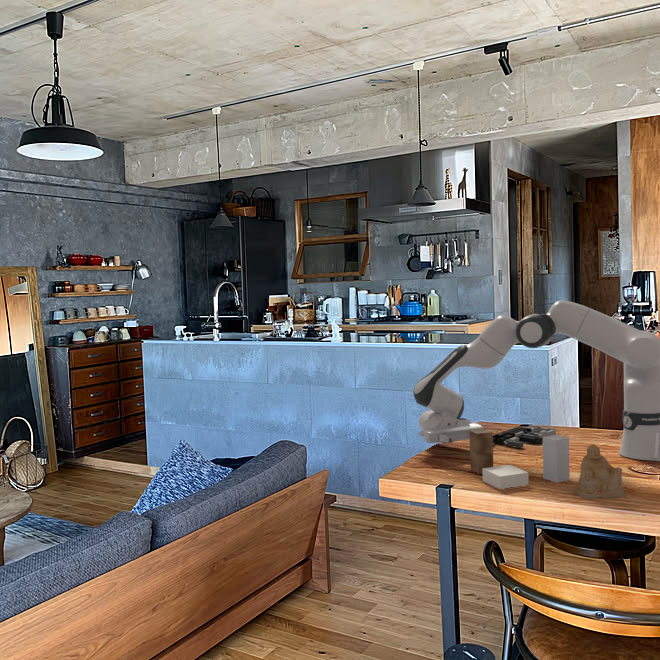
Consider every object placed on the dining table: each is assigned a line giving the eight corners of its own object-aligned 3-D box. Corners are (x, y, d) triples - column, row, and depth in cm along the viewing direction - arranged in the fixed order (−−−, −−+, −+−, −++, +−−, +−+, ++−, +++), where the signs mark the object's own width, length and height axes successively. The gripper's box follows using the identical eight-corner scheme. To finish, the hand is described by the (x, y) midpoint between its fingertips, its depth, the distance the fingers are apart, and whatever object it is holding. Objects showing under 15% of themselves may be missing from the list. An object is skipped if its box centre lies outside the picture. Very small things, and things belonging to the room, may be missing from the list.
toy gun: (513, 455, 218) (474, 448, 229) (561, 437, 241) (524, 431, 252) (513, 445, 218) (474, 438, 228) (561, 427, 240) (524, 422, 251)
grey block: (555, 475, 192) (554, 434, 192) (569, 479, 188) (568, 437, 187) (543, 478, 190) (542, 437, 189) (557, 482, 186) (556, 440, 185)
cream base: (510, 478, 193) (509, 464, 193) (528, 486, 184) (528, 472, 184) (482, 482, 190) (482, 468, 190) (500, 491, 182) (499, 476, 181)
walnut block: (485, 467, 204) (484, 428, 203) (493, 471, 199) (492, 432, 198) (470, 469, 203) (469, 430, 202) (478, 473, 198) (477, 433, 197)
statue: (603, 445, 184) (622, 442, 174) (612, 497, 180) (632, 497, 171) (561, 448, 182) (578, 445, 173) (569, 501, 179) (587, 501, 169)
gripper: (416, 423, 223) (432, 431, 209) (472, 418, 228) (491, 425, 214) (416, 442, 223) (433, 451, 210) (472, 436, 228) (492, 445, 215)
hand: (463, 438), depth 212 cm, fingers open, 8 cm apart
